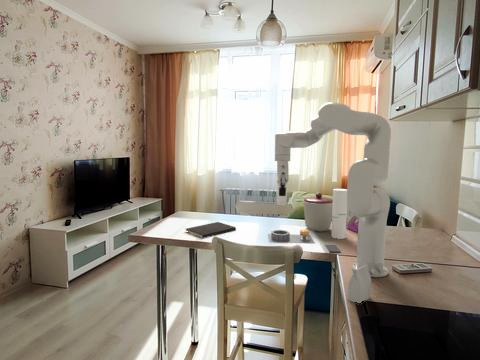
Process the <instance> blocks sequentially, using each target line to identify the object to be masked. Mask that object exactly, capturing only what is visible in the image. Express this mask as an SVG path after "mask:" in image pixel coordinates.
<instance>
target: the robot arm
mask: <svg viewBox="0 0 480 360" xmlns="http://www.w3.org/2000/svg"><path fill="white" fill-rule="evenodd" d="M335 130H337V131H338V132H340V133H344V134H345V135H346V134H347V135H351V136H366V137H367V138H366V141H365V144H364V147H363V159H359V160H356V161H355V162H353V163H352V165H351V166H350V168H349V170H348V174H347V186H346V187H347V188H346V189H347V207H348V209H349V211H350V212H351V214H353V215H354V216H356V217H360V219H359V225H358V233H357V245H356V246H357V248H356V262H354V263H353V264H352V265H351V268H352V271H354V270H356V269H358V268H360V267H362V266H365V265H367V269H368V272H369V274H370V277H371V278H383V277H385V276H388V274H389V270H388V269H387V268H388V267H385V266H384V265H385V249H386V234H387V220H388V216H389V212H390V207H391V200H390V196H389V195H388V194H387V192H386V191H385V190H383V189H381V188H379V187H378V188H377V187H374V186H377V185H382V184H383V183H385V182H386V181H387V179H388V177H389V163H390V149H391V147H390V145H391V139H392V129H391V125H390V123H389V122H388V121H387V118H385V117H383V116H381V115H380V114H377V113H374V112H367V111H358V110H354V109H351V108H350V107H349V106H348V105H346V104H344V103H339V102H333V101H332V102H331V101H330V102H326V103H324V104H323V105H321V106H320V108H319V109H318V113H317V116H314V117H313V118H312V119H311V121H310V128H309V129H307V130H305V131H287V132H286V131H285V132H276V134H275V136H274V161H275V162H277V163H276V176H277V180H278V181H279V182H280V188H279V196H286V181H287V183H288V182H289V181H290V180H289V179H290V178H289V176H290V175H289V174H290V173H289V172H290V171H289V170H290V169H289V167H290V166H289V162H291V149H296V148H297V149H304V148H308V147H310V146H312V145H315V144H317V143H318V142H319V141H321V140H322V139H323V137H324V136H325V135H327V134H329V133H331V132H333V131H335ZM281 180H282V181H281Z"/></svg>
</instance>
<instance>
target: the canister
mask: <svg viewBox="0 0 480 360" xmlns="http://www.w3.org/2000/svg"><path fill="white" fill-rule="evenodd" d="M302 203H303V212H304V214H303V215H304V222H305V223H304V224H305V227H306V229H307V230H312V231H314V232H326V231H329V230H330V228H331V227H332V208H333V198H329V197H325V196H324V197H323V194H322V193H321V192H316V193H315V196H309V197H305V198H304V199H302Z"/></svg>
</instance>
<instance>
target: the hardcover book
mask: <svg viewBox="0 0 480 360" xmlns="http://www.w3.org/2000/svg"><path fill="white" fill-rule="evenodd" d="M236 230H237V228H236V226H233V225H230V224H226V223H223V222H220V221H217V222H210V223H205V224H202V225H197V226H192V227H191V226H190V227H188V228H187V227H186V228H185V231H188V232H190V233H193V234H195V235H194V236H196V235H198V236H201V237H202V239H204V238H203V237H206V238H208V237H207V236H210V237H213V236H212V235H214V236H217V234H218V235H221V234H225V233H231V232H233V231H236ZM188 232H187V233H188ZM190 233H189V234H190ZM193 234H192V235H193ZM198 236H197V237H198ZM201 237H200V238H201Z"/></svg>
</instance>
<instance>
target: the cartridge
mask: <svg viewBox="0 0 480 360" xmlns="http://www.w3.org/2000/svg"><path fill="white" fill-rule="evenodd" d="M281 181H282V180H281ZM279 188H280V182H279V181H278V179H277V180H276V206H287V204H288V200H287V199H288V197H287V196H288V182H287V181H286V196H279Z"/></svg>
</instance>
